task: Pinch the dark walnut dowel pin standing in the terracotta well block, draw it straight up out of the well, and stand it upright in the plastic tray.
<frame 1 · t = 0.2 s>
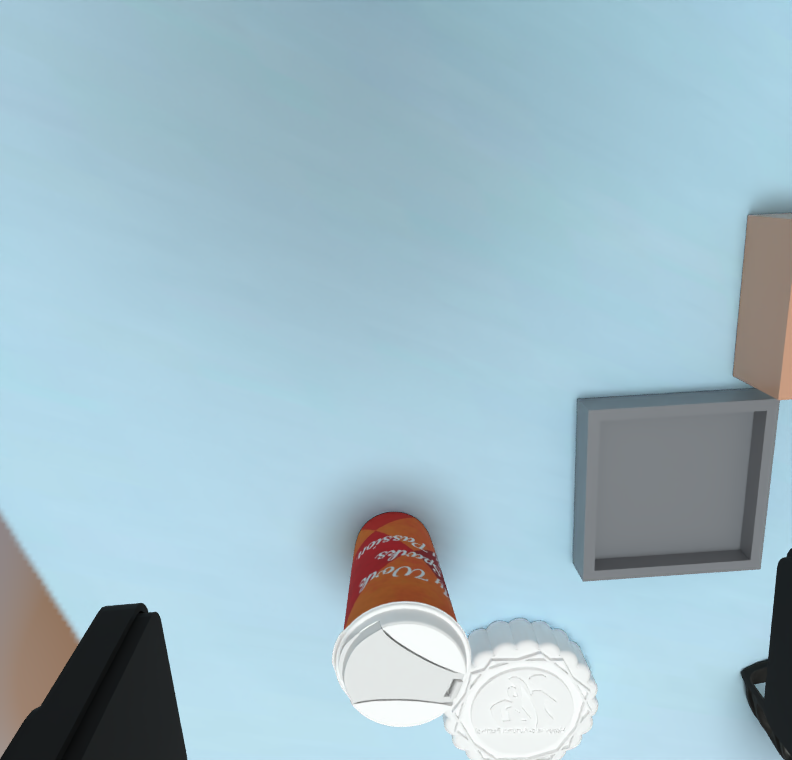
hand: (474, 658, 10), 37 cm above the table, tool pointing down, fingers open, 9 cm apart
holder: (789, 701, 57), on the table
paper cup: (392, 543, 51), on the table
mooncake: (512, 679, 55), on the table
tray: (663, 478, 50), on the table
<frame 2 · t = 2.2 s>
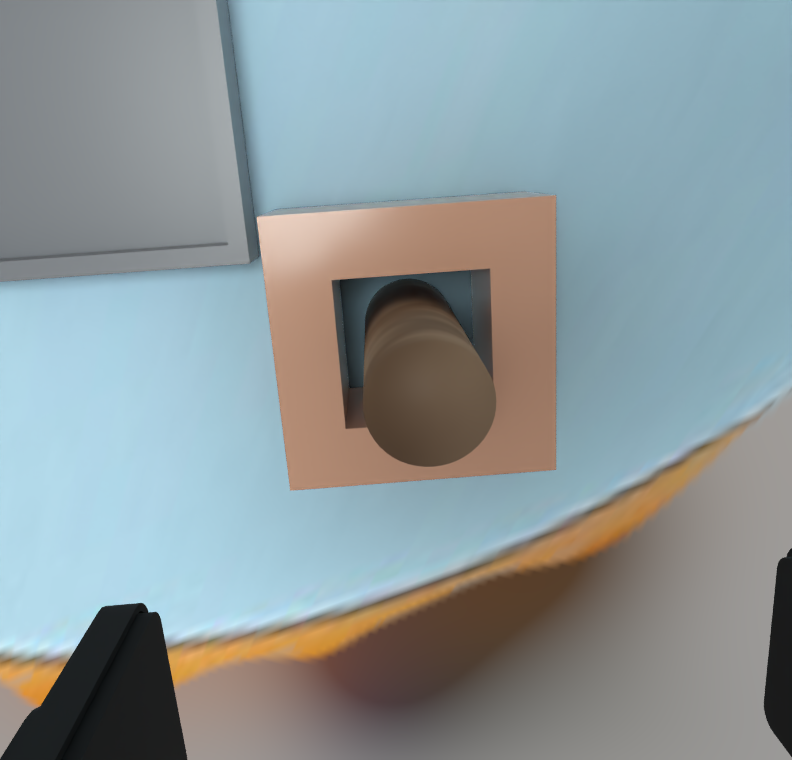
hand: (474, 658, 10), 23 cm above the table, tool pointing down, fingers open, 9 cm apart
dowel pin: (416, 354, 26), in the well block
tray: (85, 112, 29), on the table
well block: (408, 321, 32), on the table
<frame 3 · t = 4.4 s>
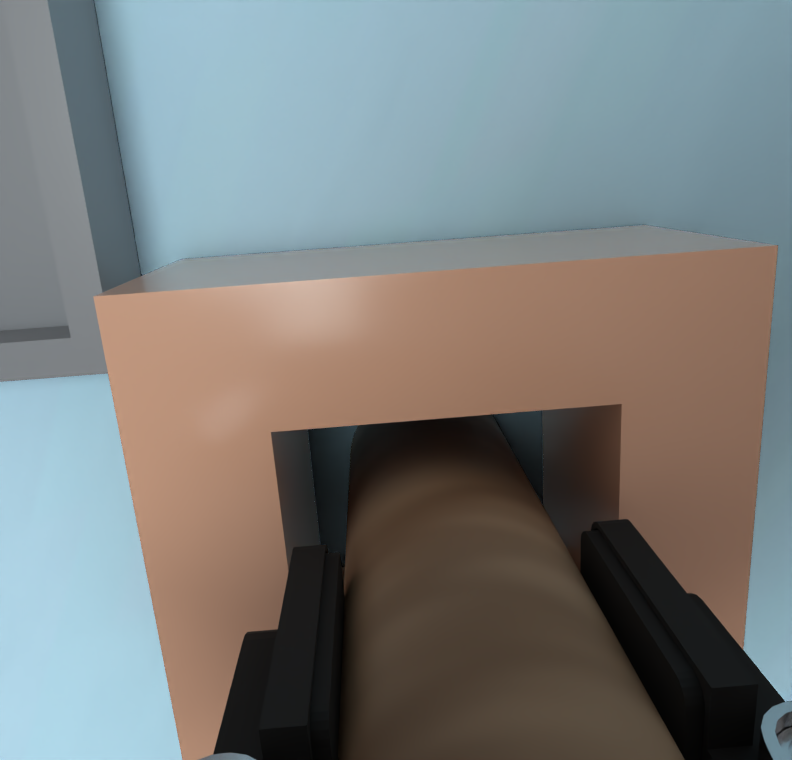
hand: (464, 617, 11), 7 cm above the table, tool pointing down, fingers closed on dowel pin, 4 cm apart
dowel pin: (458, 588, 12), in the well block, touching gripper
well block: (427, 457, 18), on the table
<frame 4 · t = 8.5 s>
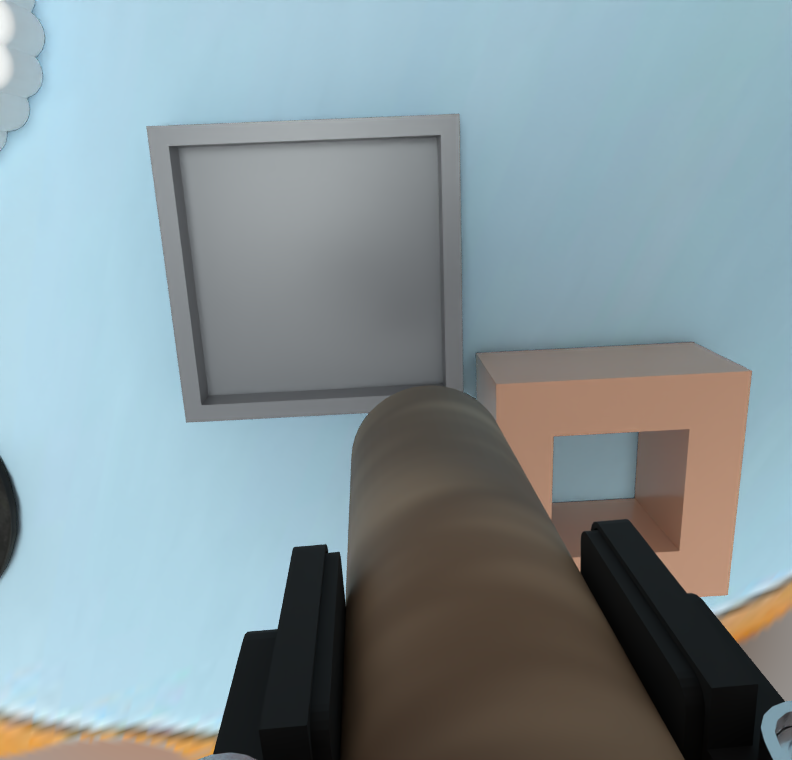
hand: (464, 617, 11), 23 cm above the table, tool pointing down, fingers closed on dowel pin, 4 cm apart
dowel pin: (460, 591, 12), point 23 cm above the table, touching gripper
tray: (319, 269, 33), on the table
well block: (581, 449, 36), on the table
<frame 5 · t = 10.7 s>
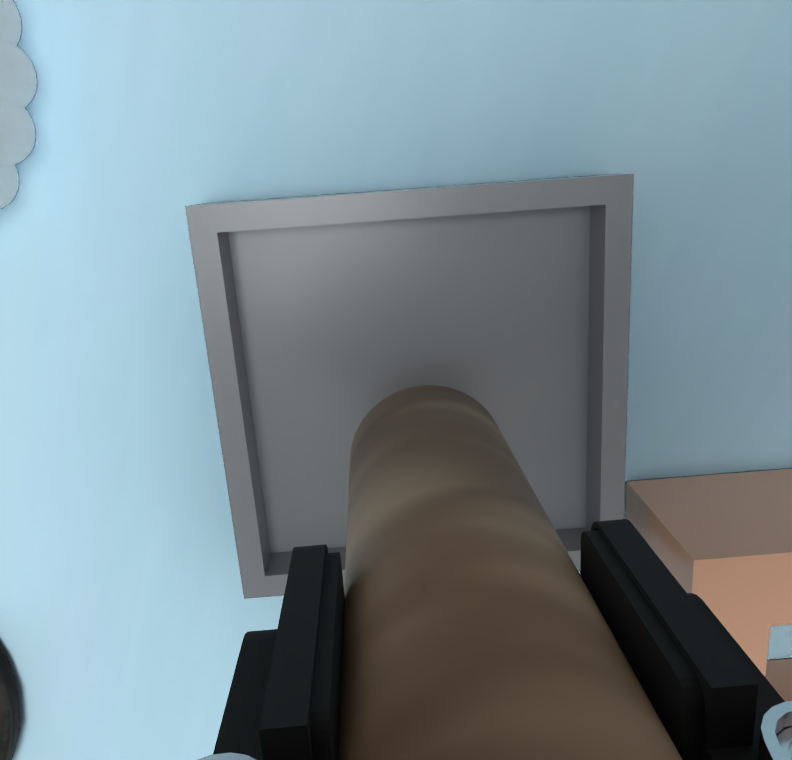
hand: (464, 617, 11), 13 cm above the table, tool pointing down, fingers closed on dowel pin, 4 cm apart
dowel pin: (458, 591, 12), point 13 cm above the table, touching gripper
tray: (417, 380, 24), on the table
well block: (760, 597, 27), on the table
when the fingers open (9 cm above the table, at t = 12.4 s): dowel pin stays where it is, resting on tray.
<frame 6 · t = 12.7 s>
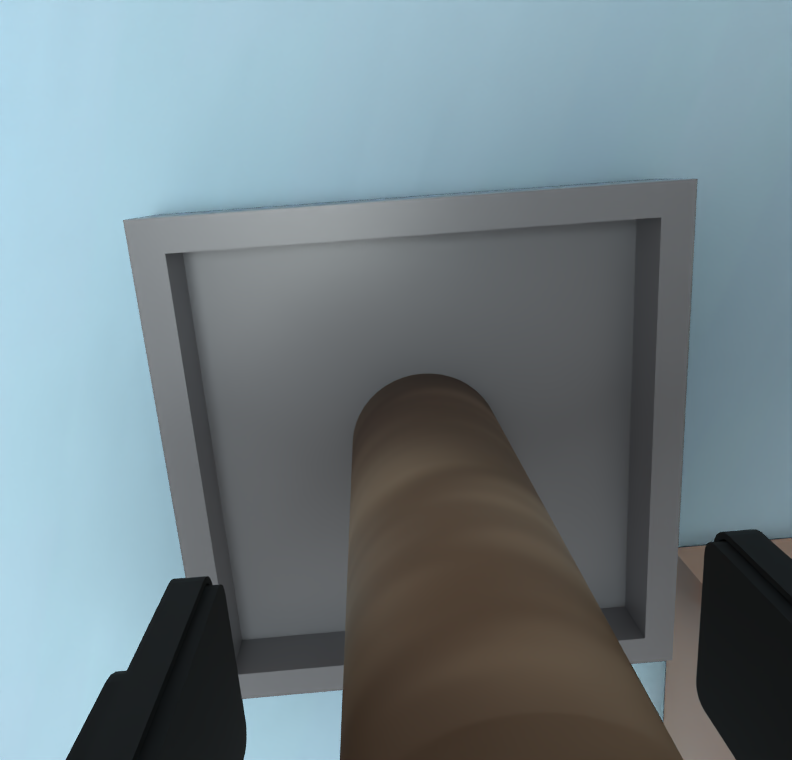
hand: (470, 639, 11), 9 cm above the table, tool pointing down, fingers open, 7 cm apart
dowel pin: (453, 562, 13), in the tray, point 7 cm above the table
tray: (421, 430, 20), on the table
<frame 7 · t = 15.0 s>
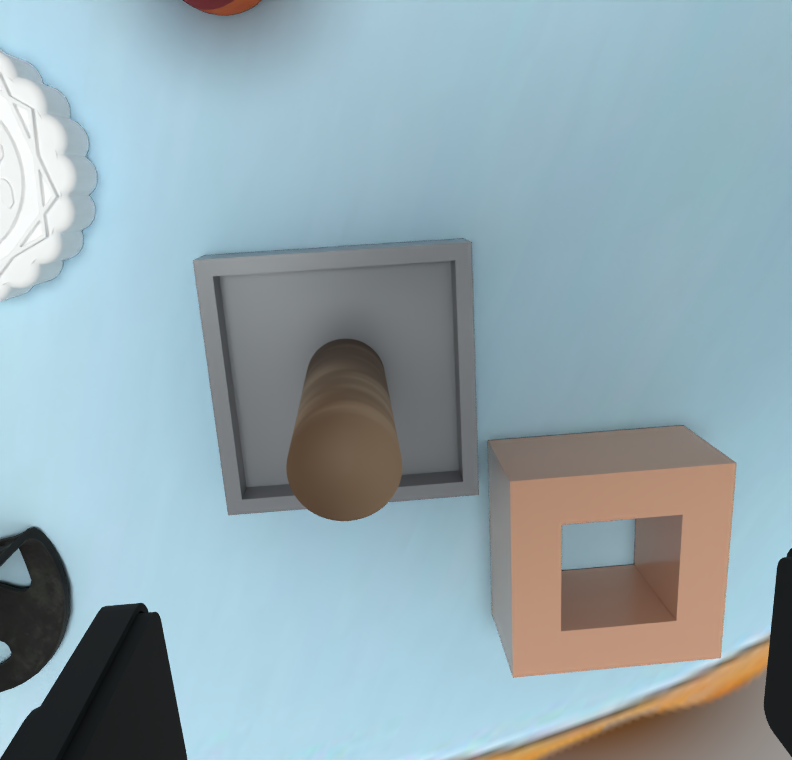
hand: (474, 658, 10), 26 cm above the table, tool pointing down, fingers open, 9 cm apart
dowel pin: (345, 413, 30), in the tray, point 7 cm above the table
tray: (344, 371, 36), on the table
well block: (584, 522, 40), on the table
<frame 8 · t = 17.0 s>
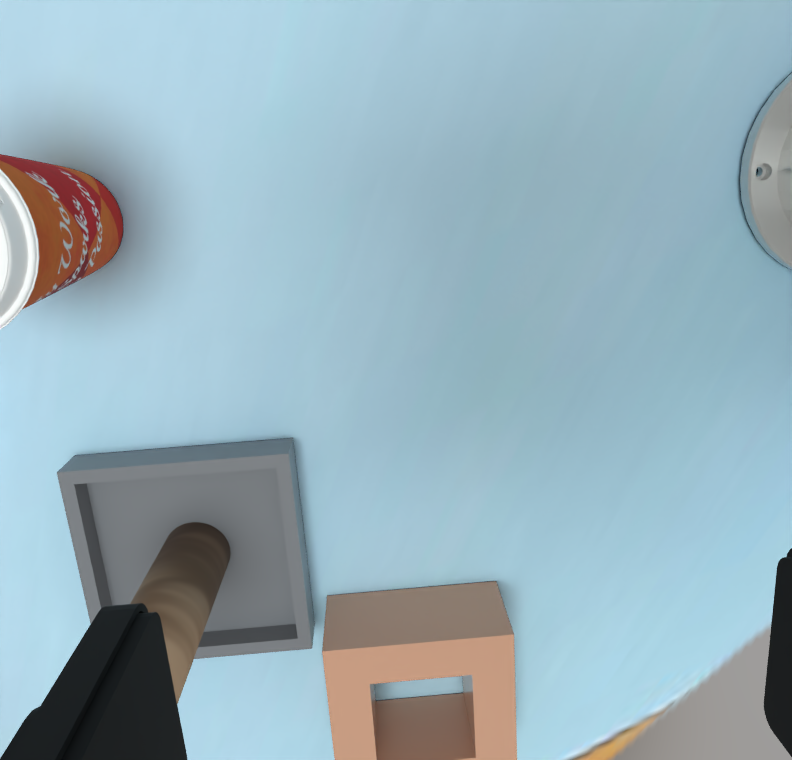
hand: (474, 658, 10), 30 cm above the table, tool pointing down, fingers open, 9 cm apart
paper cup: (73, 220, 37), on the table
dowel pin: (170, 610, 36), in the tray, point 7 cm above the table
tray: (200, 543, 43), on the table
well block: (416, 659, 46), on the table
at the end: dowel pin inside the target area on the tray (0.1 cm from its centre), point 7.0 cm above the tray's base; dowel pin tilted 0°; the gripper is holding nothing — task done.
